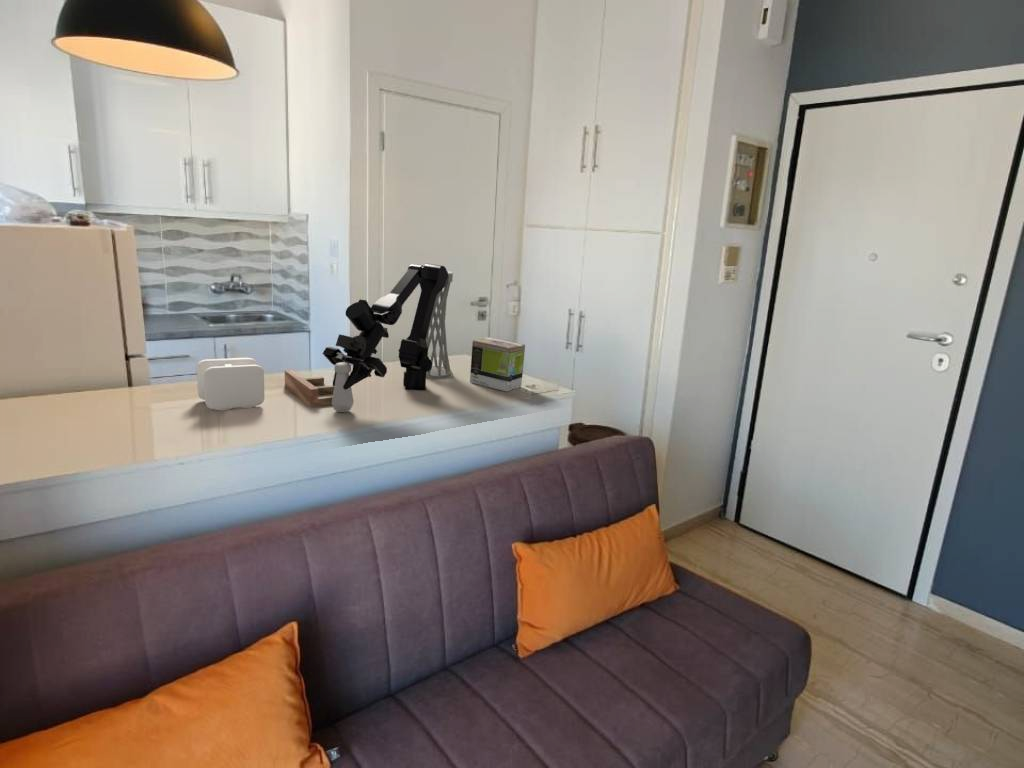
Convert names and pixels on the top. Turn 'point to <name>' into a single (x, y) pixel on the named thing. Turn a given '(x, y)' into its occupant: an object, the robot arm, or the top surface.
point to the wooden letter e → (308, 389)
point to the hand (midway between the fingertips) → (339, 387)
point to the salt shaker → (342, 397)
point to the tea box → (497, 363)
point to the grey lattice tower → (443, 356)
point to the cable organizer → (230, 383)
